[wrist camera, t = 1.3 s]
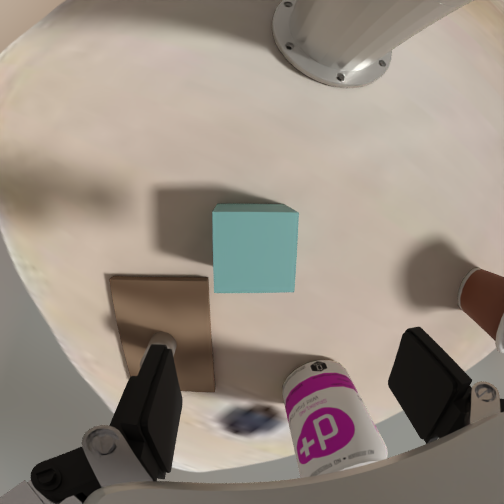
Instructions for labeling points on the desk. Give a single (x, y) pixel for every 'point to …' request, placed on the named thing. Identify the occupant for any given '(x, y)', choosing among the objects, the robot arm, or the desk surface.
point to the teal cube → (254, 248)
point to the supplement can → (329, 420)
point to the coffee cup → (484, 302)
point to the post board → (167, 324)
